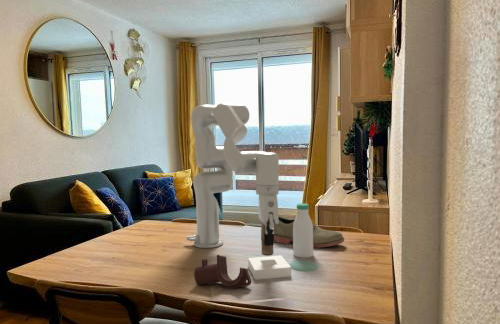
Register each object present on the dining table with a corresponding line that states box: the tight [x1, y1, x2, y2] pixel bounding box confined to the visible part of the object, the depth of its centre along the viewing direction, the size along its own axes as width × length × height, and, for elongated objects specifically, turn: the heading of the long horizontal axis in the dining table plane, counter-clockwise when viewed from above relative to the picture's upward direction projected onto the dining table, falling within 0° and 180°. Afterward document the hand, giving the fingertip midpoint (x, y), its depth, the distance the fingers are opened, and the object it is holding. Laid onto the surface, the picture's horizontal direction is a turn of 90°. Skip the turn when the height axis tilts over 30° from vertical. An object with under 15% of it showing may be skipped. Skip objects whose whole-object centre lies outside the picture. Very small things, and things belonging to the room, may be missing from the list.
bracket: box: [193, 254, 252, 289], centre depth 109 cm, size 6×17×10 cm, turn 78°
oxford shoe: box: [274, 215, 345, 249], centre depth 151 cm, size 11×32×12 cm, turn 69°
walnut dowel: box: [260, 221, 274, 257], centre depth 119 cm, size 4×4×11 cm
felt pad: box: [289, 260, 319, 272], centre depth 124 cm, size 10×10×1 cm
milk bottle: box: [292, 203, 314, 259], centre depth 135 cm, size 8×8×20 cm
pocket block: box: [247, 255, 292, 280], centre depth 119 cm, size 12×12×4 cm
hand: (267, 242), depth 119 cm, fingers closed on walnut dowel, 4 cm apart
